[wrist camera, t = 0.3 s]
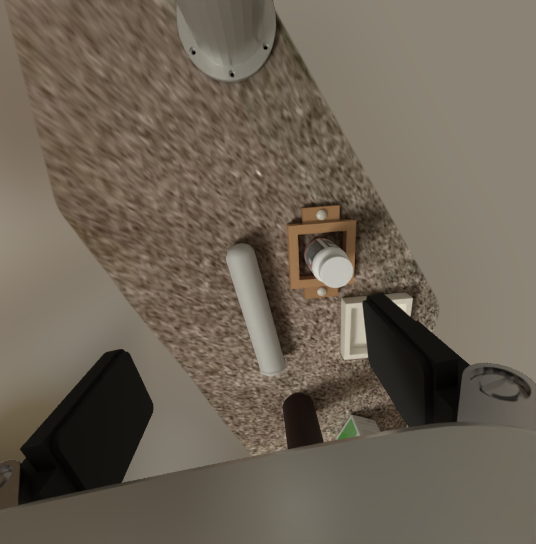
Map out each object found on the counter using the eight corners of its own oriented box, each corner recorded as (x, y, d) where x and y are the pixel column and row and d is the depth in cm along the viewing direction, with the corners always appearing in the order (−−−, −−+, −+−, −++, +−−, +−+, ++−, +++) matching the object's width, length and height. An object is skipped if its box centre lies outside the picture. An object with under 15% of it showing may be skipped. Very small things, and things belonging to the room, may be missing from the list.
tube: (215, 251, 41) (256, 376, 49) (246, 246, 39) (283, 377, 47) (229, 241, 46) (264, 357, 54) (257, 236, 44) (289, 357, 52)
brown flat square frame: (286, 208, 43) (287, 210, 41) (352, 203, 43) (356, 204, 41) (290, 297, 48) (291, 301, 47) (349, 292, 49) (353, 296, 47)
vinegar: (277, 399, 57) (289, 510, 38) (307, 388, 56) (333, 495, 37) (289, 420, 59) (305, 535, 40) (317, 410, 58) (347, 522, 39)
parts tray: (341, 297, 49) (345, 304, 47) (405, 292, 49) (412, 298, 47) (340, 351, 53) (344, 359, 51) (399, 346, 53) (405, 354, 51)
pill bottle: (308, 273, 47) (322, 296, 38) (299, 243, 45) (310, 261, 36) (339, 262, 47) (361, 283, 37) (331, 232, 45) (351, 247, 35)
